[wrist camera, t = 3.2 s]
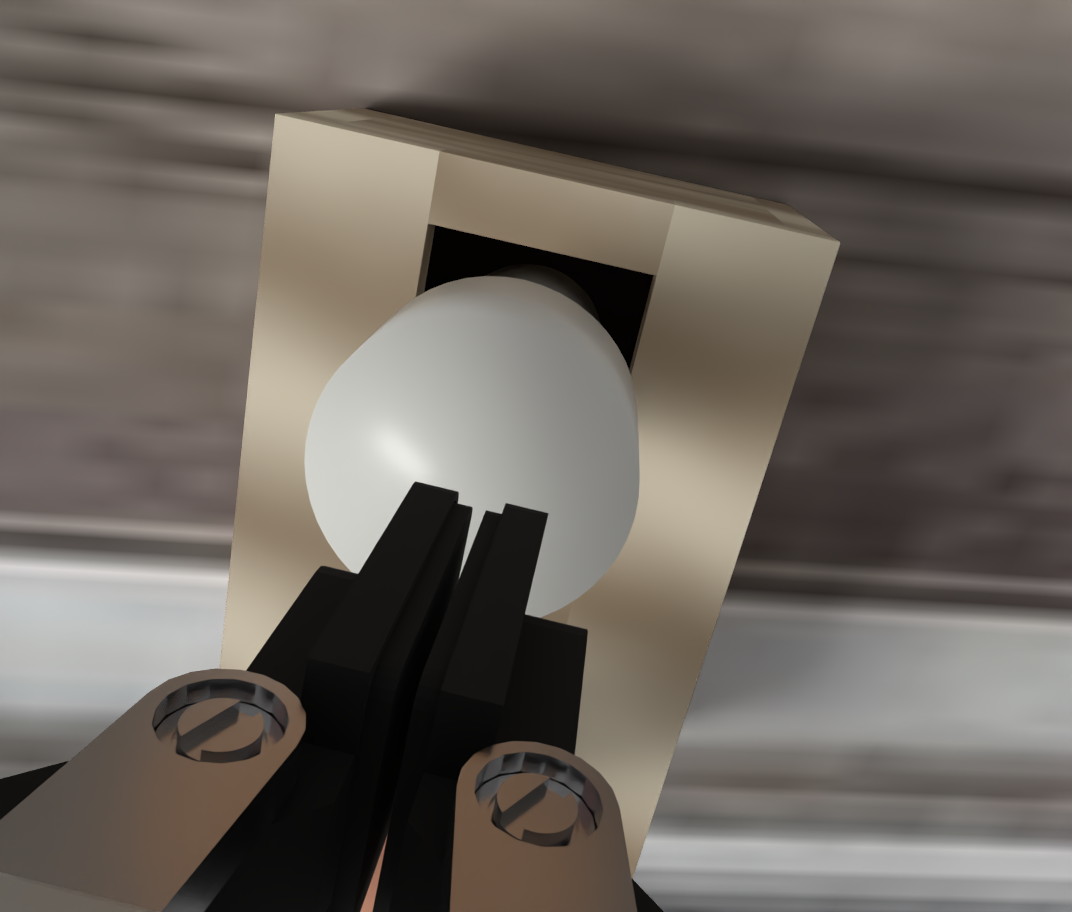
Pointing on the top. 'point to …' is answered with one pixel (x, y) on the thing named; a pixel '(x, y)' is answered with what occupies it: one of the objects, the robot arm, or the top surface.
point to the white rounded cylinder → (485, 424)
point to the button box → (656, 369)
